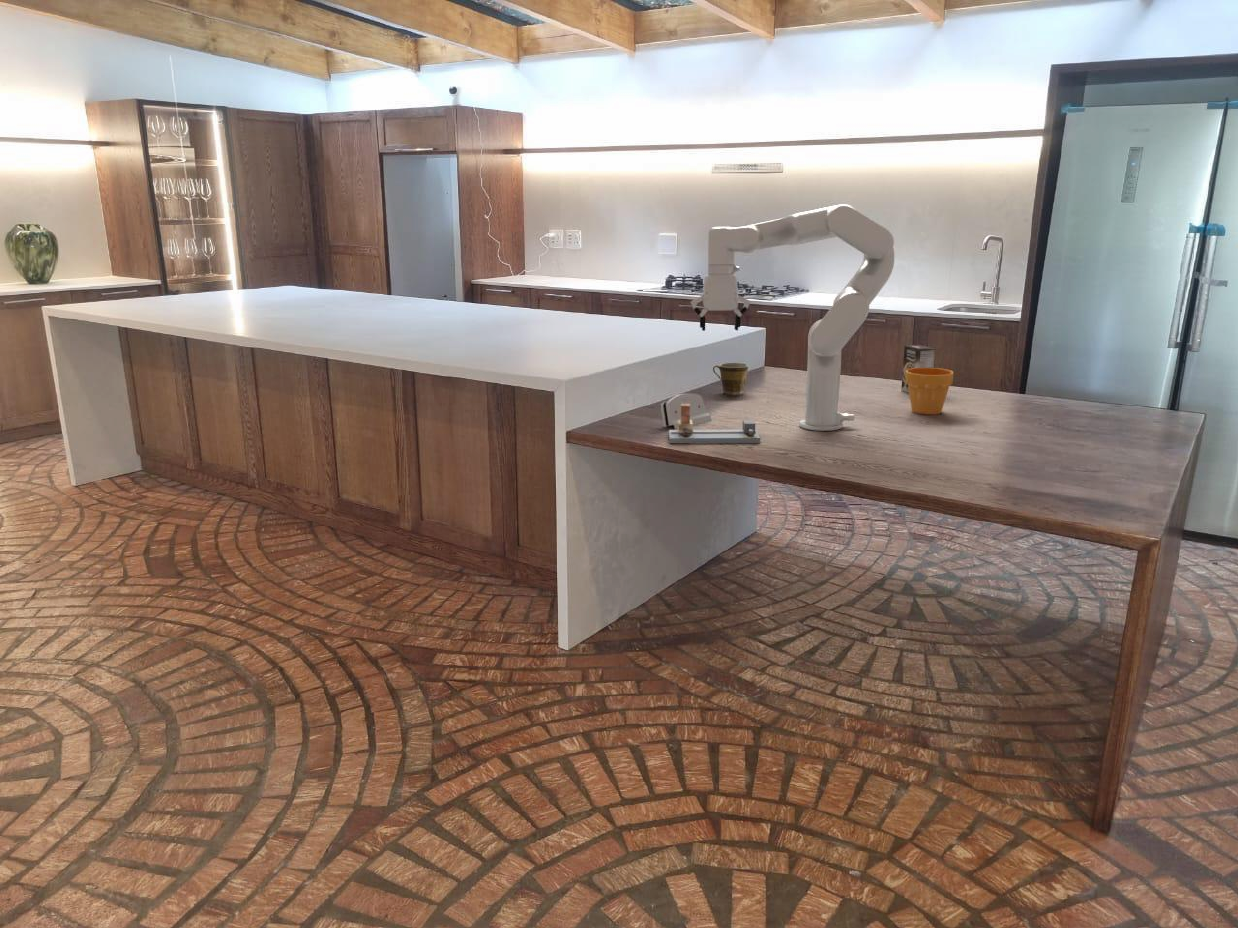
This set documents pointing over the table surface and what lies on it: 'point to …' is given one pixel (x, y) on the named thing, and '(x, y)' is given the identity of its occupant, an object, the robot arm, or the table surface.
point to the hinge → (673, 410)
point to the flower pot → (928, 388)
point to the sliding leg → (685, 420)
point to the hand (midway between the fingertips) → (719, 330)
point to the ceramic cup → (732, 377)
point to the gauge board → (718, 435)
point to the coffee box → (916, 360)
